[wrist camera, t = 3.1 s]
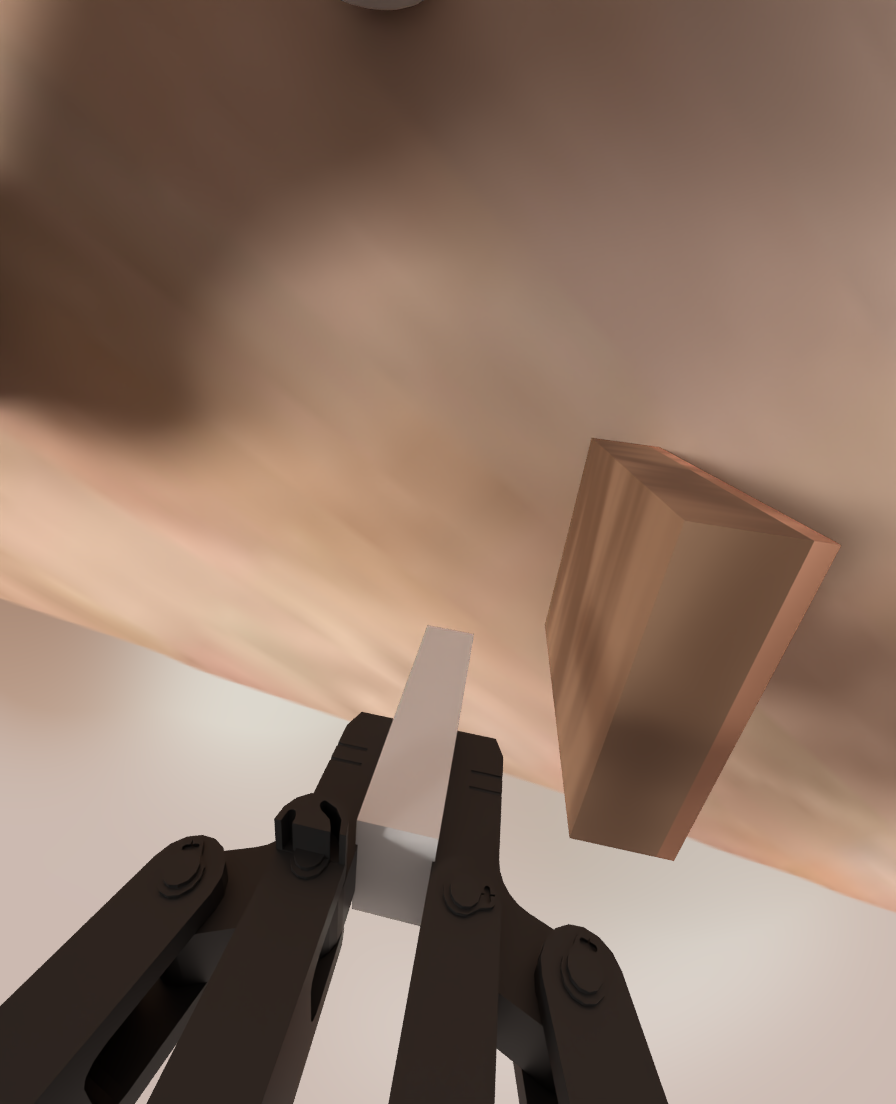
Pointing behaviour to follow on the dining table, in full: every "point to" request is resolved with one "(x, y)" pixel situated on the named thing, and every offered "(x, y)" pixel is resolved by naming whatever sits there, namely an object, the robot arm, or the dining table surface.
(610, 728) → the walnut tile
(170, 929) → the robot arm
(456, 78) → the dining table surface
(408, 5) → the pocket watch
